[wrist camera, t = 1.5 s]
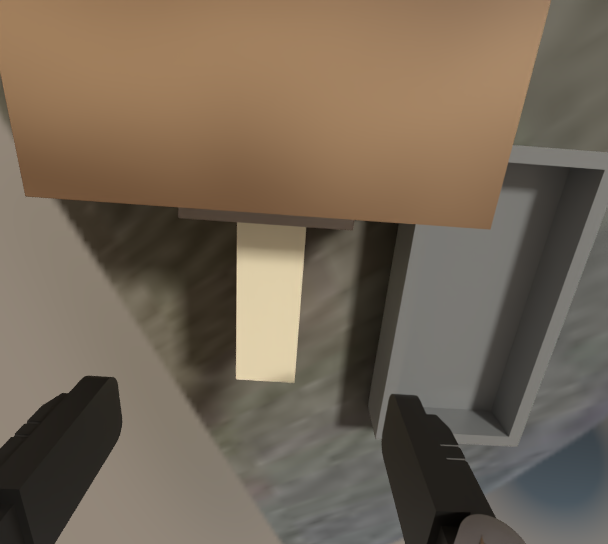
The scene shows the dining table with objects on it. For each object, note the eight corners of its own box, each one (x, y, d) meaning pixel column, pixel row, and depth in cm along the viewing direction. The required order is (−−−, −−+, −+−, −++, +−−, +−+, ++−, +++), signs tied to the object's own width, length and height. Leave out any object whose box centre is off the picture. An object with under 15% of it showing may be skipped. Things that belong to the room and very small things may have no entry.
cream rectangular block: (258, 84, 17) (236, 58, 11) (314, 88, 17) (320, 65, 11) (252, 313, 21) (234, 379, 15) (297, 316, 21) (295, 383, 15)
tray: (413, 138, 18) (431, 138, 15) (581, 151, 18) (627, 154, 15) (367, 406, 23) (375, 438, 21) (494, 413, 24) (517, 446, 21)
